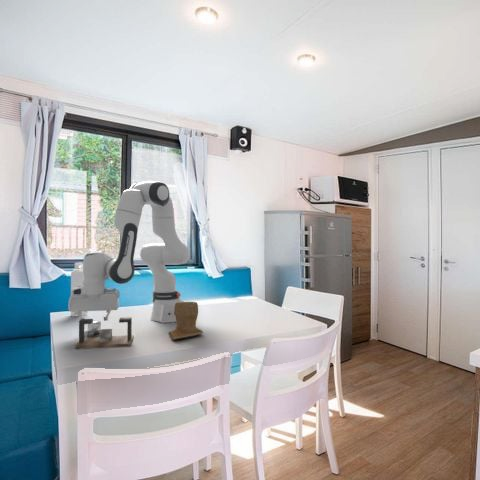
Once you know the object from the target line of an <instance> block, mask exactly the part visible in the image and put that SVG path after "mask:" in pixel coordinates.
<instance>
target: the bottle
mask: <svg viewBox="0 0 480 480" xmlns="http://www.w3.org/2000/svg"><path fill="white" fill-rule="evenodd" d="M83 280H84V275H83V262H82V261H81V262H80V261H79V262H74V269H73V270H71V272H70V291H71V290H72V289H74V288H77V287H79V286H83ZM70 296H72V295H71V294H70ZM88 312H89V311H82V313H81V314H82V315H83V317H86V316H88V314H89V313H88ZM70 316H71V317H74V316H79V315H78V311H76V312H70Z"/></svg>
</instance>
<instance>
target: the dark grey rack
mask: <svg viewBox="0 0 480 480" xmlns="http://www.w3.org/2000/svg"><path fill="white" fill-rule="evenodd" d="M132 318H133V317H131V316H130V317H129V316H128V317H119V320H118V323H127V329H126V330H127V334H125V335H113V328H104V329H103V328H101V331H100V335H99V337H84V332H85V325H88V324H91V323H92V322H93V321H94V319H93V318H85V319H81V320H80V319H79V321H78V342H77V344H75V345H74V350H81V349H82V348H85V349H98V348H99V349H100V348H101V349H102V348H116V347H117V348H119V347H131V345H132V343H133V340H134V334H132V329H133V328H132V322H133V321H132ZM80 348H81V349H80ZM82 350H83V349H82Z"/></svg>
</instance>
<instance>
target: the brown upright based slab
mask: <svg viewBox="0 0 480 480" xmlns="http://www.w3.org/2000/svg"><path fill="white" fill-rule="evenodd" d="M174 312H175V316H176V327H175V328H174V329H172V330H170V331H168V335H169V337H170V339H171V340H173V341H174V340H179V339H186V338H190V337H195V336H199V335H201V334H204V331H203V330H201V329H199V328H197V321H198V320H197V319H198V316H199V304H198V303H197V302H196V301H184V302H176V303H175V307H174Z"/></svg>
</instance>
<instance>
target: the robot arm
mask: <svg viewBox="0 0 480 480" xmlns="http://www.w3.org/2000/svg"><path fill="white" fill-rule="evenodd" d="M145 205H150V208H151V219H152V220H151V221H152V223H151V224H152V231H153V234H154V235H155V236H157V237H159V238H160V239H161V240H162V241H163V243H157V242H155V243H154V242H153V243H152V242H151V243H148V244H144V245H143V246H142V247H141V249H140V252H139V256H140V260H142V261H141V262H143V263H144V264H145V265H146V266H147V267H148V268H149V269H150V272H151V274H152V277H153V278H152V279H153V292H152V303H153V304H152V310H151V315H150V317H149V318H150V320H151V321H153V322H159V323H163V324H164V323H175V322H176V316H175V312H174V307H175V303H176V302H185V301H184V300H182V299H181V298H180V297H181V293H180V292H179V291H177V289H176V287H177V286H176V279H177V278H176V276H175V275H174V273H173V272H171V271H169V270H168V269H167V268H166V265H174V266H177V265H183V264H186V263H187V262H188V261H189V259H190V255H191V252H190V249H189V247H188V246H187V245H186V244H184V243H183V242H182V241H181V239H180V238H179V236H178V234H177V231H176V224H175V223H176V221H175V210H174V204H173V200H172V198H171V197H170V189H169V187H168V185H167V184H166V183H164V182H161V181H157V180H156V181H153V180H147V181H139V182H134V183H133V184H132V185H131V186H130V187H129V189H125V190H124V191H123V192H122V193H121V195H120V198H119V200H118V203H117V206H116V210H115V214H114V223H113V224H114V226H115V228H116V229H117V232H118V233H119V235H120V242H119V249H118V252H117V253H118V255H117V257H113V256H111V255H109V254H107V253H105V252H104V251H102V250H99V251H98V250H97V251H91V252H87V253H86V254H85V255H84V257H83V275H84V280H83V286H79V287H77V288H74V289H72V290H71V289H70V296H69V298H68V302H67V303H68V305H67V306H68V307H67V308H68V311H69V312H70V313H71V312H76V311H78V315H79V317H78V318H79V321H80V320H81V319H86V316H83V315H82V314H81V313H82V311H88V312H98V311H99V312H103V311H106V312H105V313H107V314H106V315H104V316H103V321H104V322H105V321H109V315H110V314H111V312H112V311H117V310H118V309H119V308H120V300H119V298H120V291H119V289H116V288H106V280H108V279H109V280H111V281H113V282H114V283H116V284H119V285H123V284H126V283H128V282H130V281H131V280H132V279H133V277H134V275H135V266H134V265H135V263H134V257H135V251H136V245H137V238H138V230H139V226H140V222H141V218H142V217H141V216H142V212H143V208H144V206H145ZM71 295H72V296H71ZM176 323H177V322H176Z"/></svg>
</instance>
